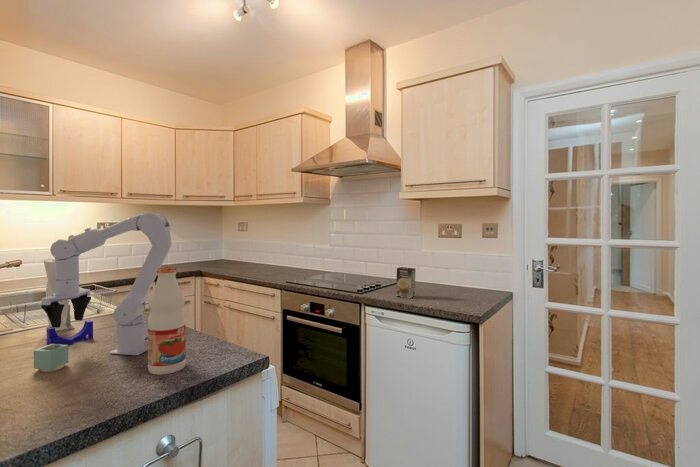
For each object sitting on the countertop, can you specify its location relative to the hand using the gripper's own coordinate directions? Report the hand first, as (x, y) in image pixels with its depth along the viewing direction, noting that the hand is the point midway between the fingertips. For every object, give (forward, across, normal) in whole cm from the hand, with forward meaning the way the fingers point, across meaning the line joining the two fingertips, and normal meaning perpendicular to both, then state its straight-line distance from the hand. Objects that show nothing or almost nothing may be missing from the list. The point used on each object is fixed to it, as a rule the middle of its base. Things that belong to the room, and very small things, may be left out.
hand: (67, 323), depth 111 cm
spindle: (+9, +10, +5) cm, 15 cm away
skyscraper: (+10, -21, -25) cm, 34 cm away
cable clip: (+10, -10, -9) cm, 17 cm away
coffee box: (+10, -106, +104) cm, 148 cm away
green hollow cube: (+9, +10, +5) cm, 14 cm away
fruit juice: (+10, +5, +36) cm, 38 cm away
